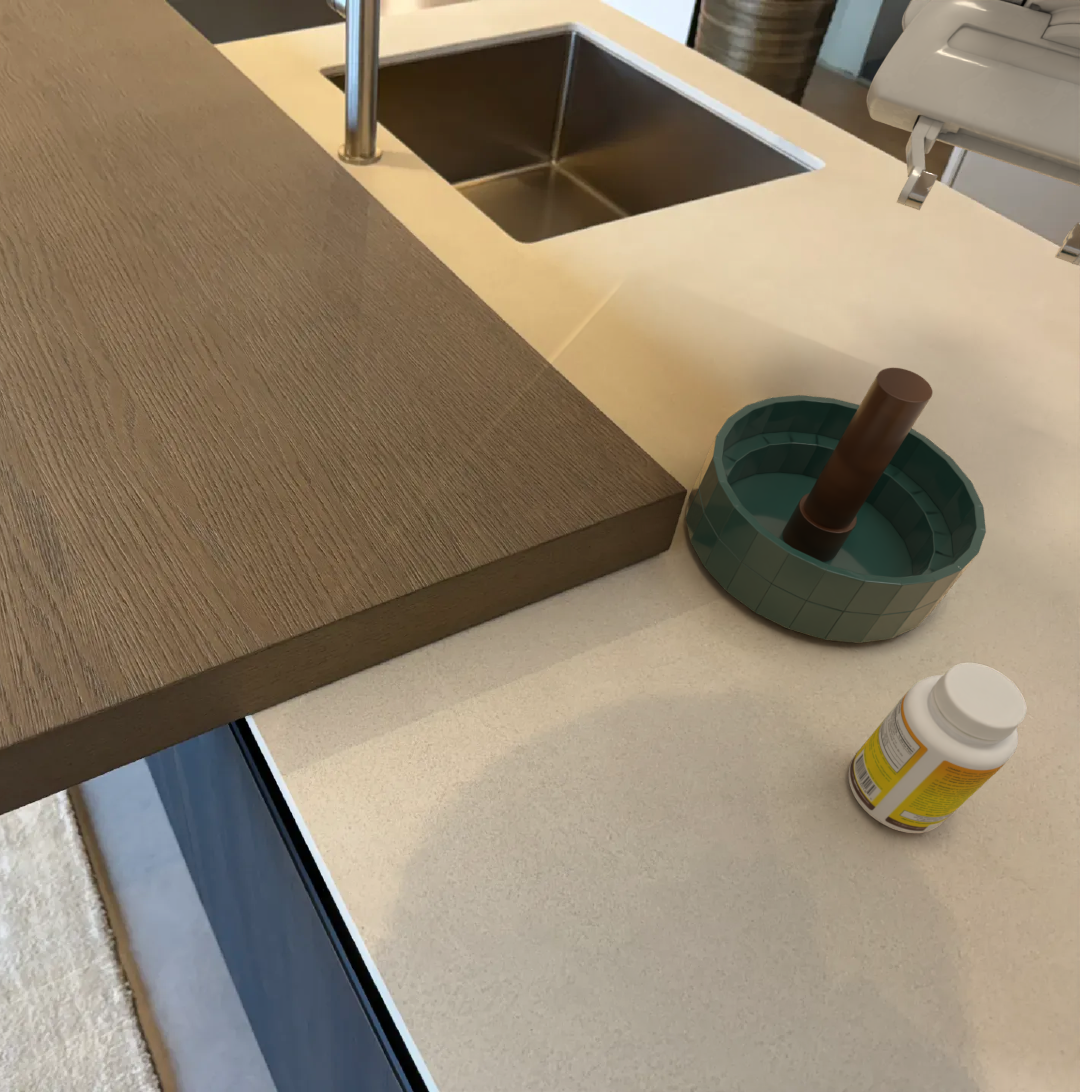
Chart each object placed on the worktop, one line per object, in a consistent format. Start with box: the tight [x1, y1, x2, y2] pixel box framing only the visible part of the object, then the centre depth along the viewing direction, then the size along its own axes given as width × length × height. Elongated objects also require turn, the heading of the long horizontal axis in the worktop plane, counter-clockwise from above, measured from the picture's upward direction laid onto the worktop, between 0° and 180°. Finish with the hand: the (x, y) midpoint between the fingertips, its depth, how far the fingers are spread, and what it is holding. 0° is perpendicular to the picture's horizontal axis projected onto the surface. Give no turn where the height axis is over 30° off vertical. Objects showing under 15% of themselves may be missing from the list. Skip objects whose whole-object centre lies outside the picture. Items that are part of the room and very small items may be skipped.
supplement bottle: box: [848, 661, 1027, 834], centre depth 56 cm, size 6×6×10 cm
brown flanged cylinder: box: [783, 367, 933, 562], centre depth 66 cm, size 4×4×14 cm
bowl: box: [685, 394, 987, 644], centre depth 69 cm, size 17×17×6 cm
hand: (987, 230), depth 62 cm, fingers open, 8 cm apart
